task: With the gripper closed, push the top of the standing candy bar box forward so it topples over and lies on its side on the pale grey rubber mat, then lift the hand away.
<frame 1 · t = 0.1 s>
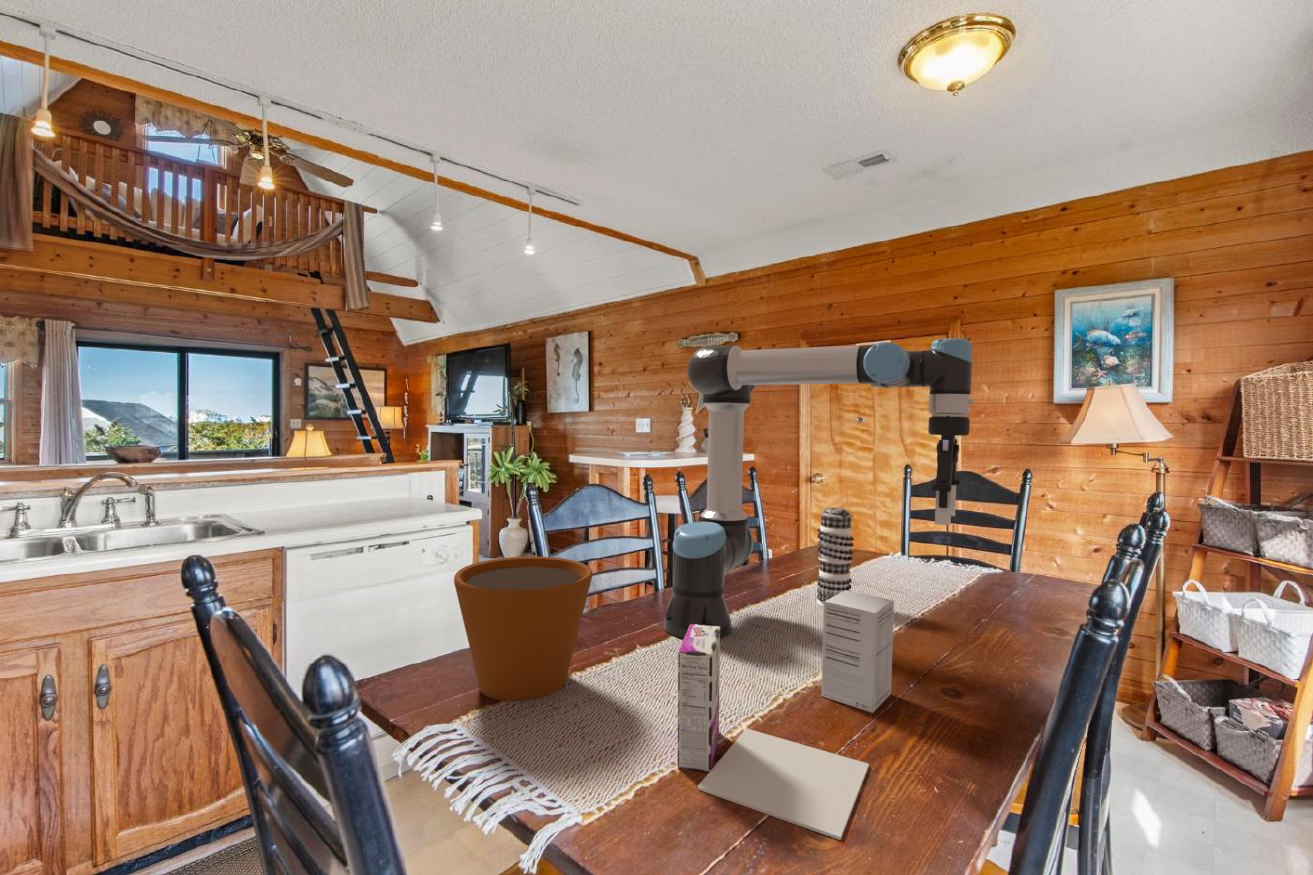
hand: (945, 519, 123), 28 cm above the table, tool pointing down, fingers open, 13 cm apart
flower pot: (523, 684, 107), on the table
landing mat: (786, 777, 80), on the table
supplement box: (856, 696, 105), on the table
candy bar box: (698, 750, 87), on the table
decorative candle: (833, 605, 157), on the table
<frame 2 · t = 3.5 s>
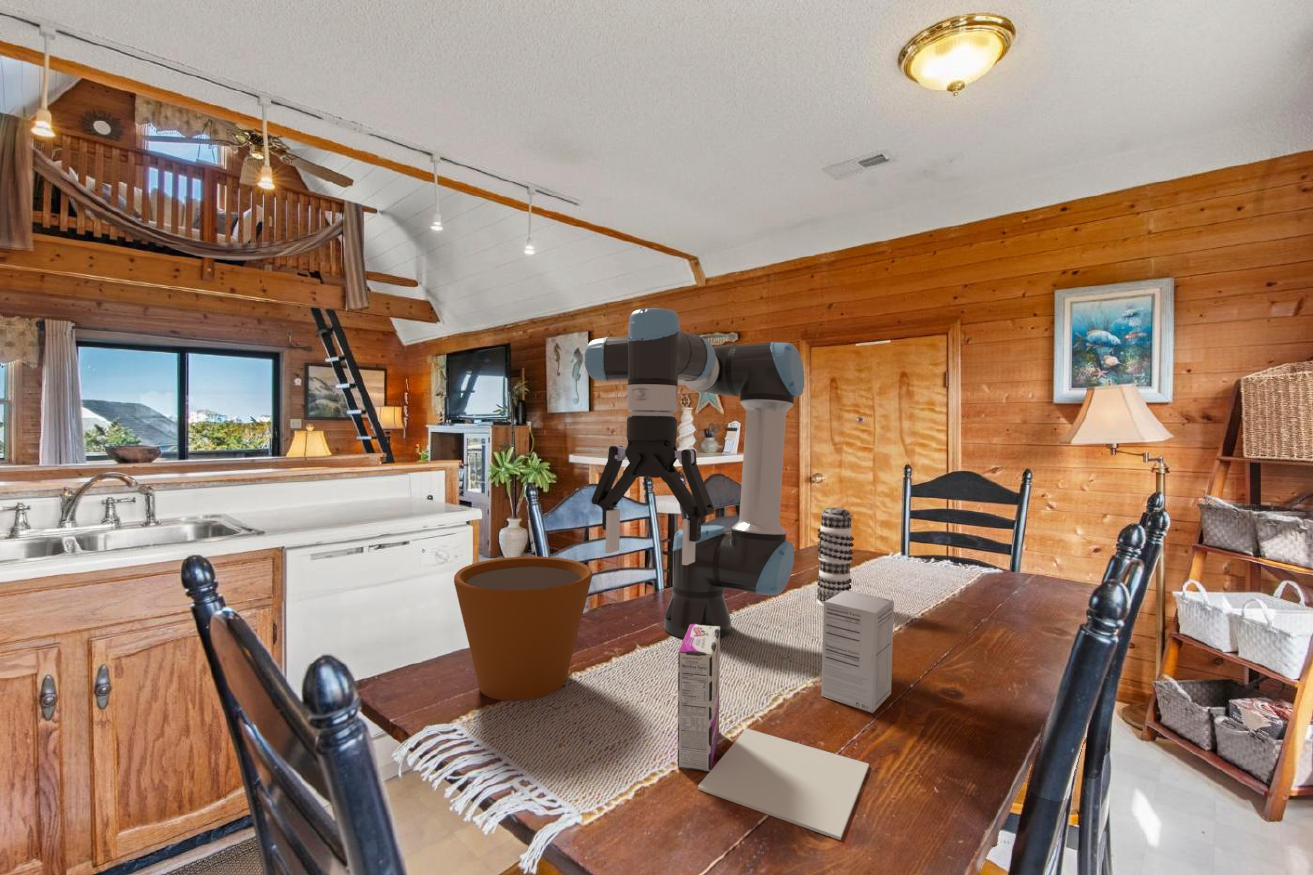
hand: (649, 557, 90), 27 cm above the table, tool pointing down, fingers open, 12 cm apart
nothing on the table moved.
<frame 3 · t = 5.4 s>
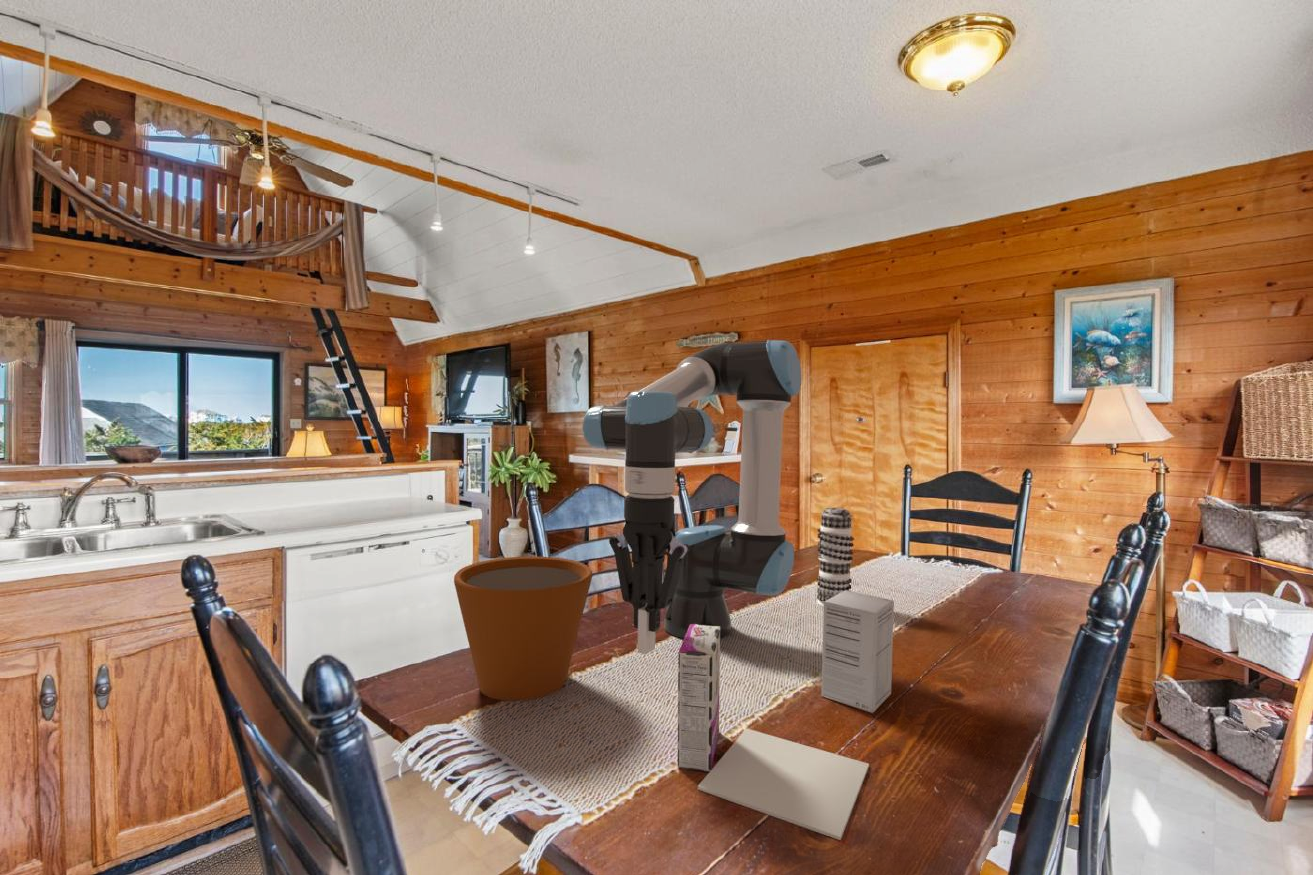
hand: (646, 650, 91), 13 cm above the table, tool pointing down, fingers closed
nothing on the table moved.
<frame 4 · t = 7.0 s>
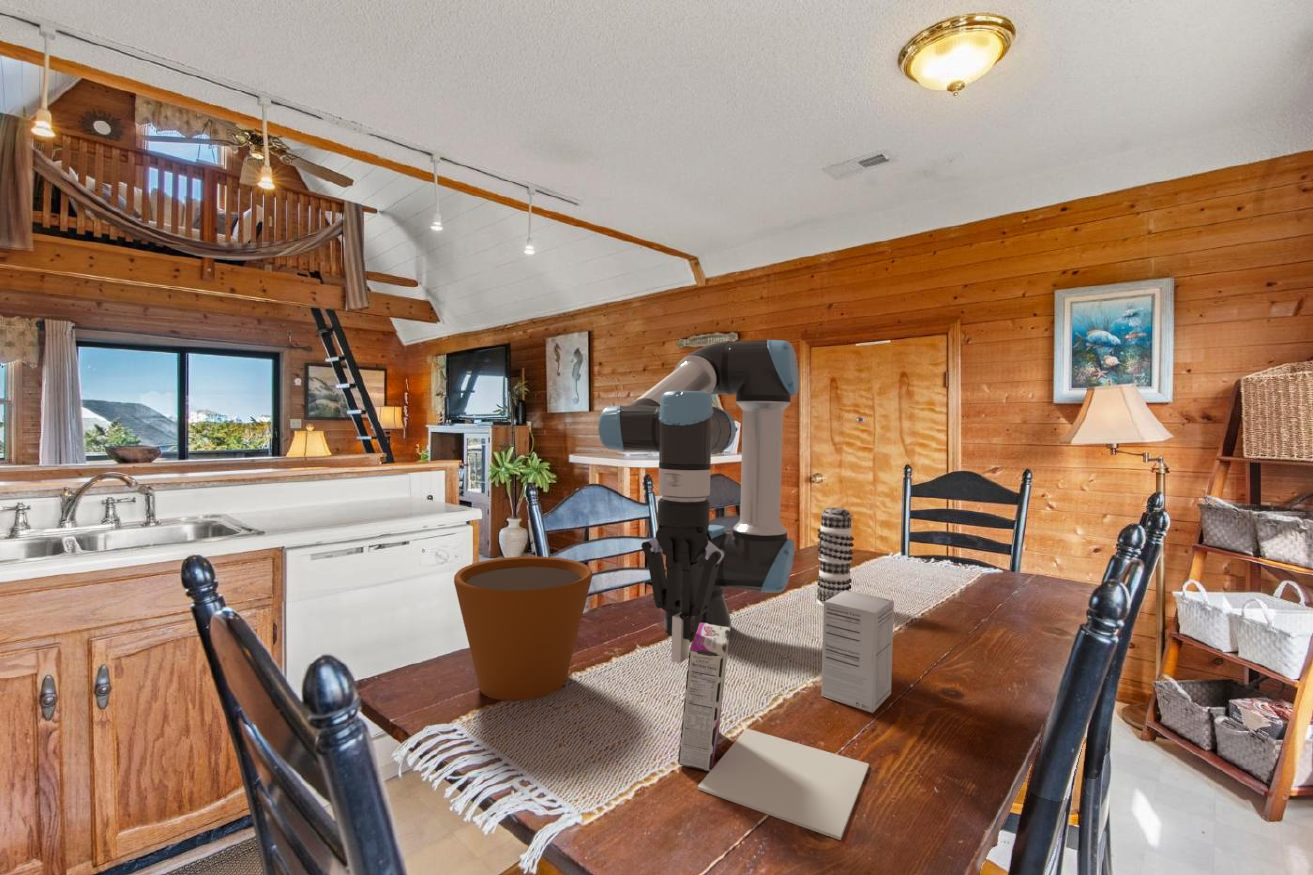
hand: (680, 658, 88), 13 cm above the table, tool pointing down, fingers closed
candy bar box: (698, 749, 87), on the table, touching gripper
everything else where it was.
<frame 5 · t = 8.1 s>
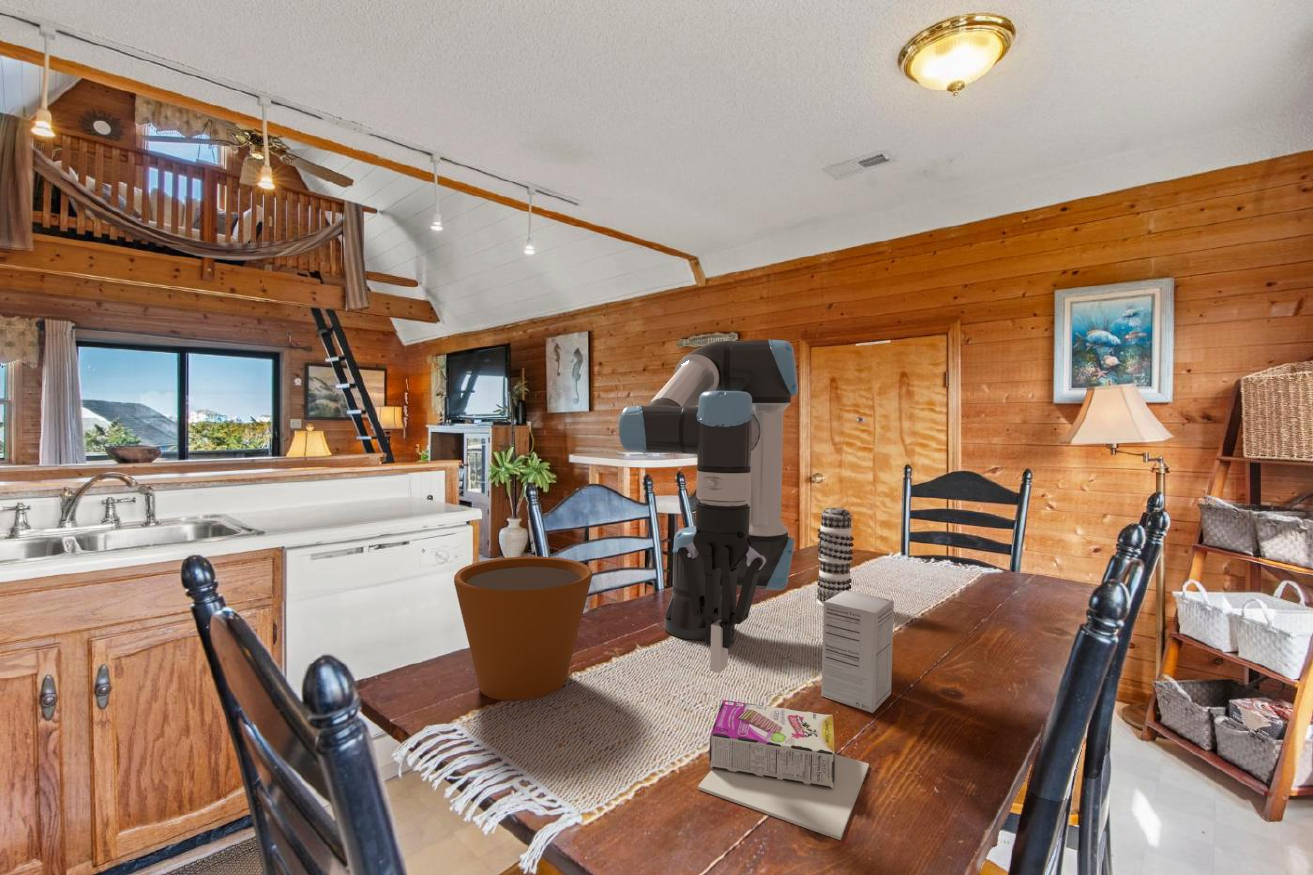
hand: (718, 668, 85), 13 cm above the table, tool pointing down, fingers closed
candy bar box: (714, 730, 86), point 3 cm above the table, touching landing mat
everything else where it was.
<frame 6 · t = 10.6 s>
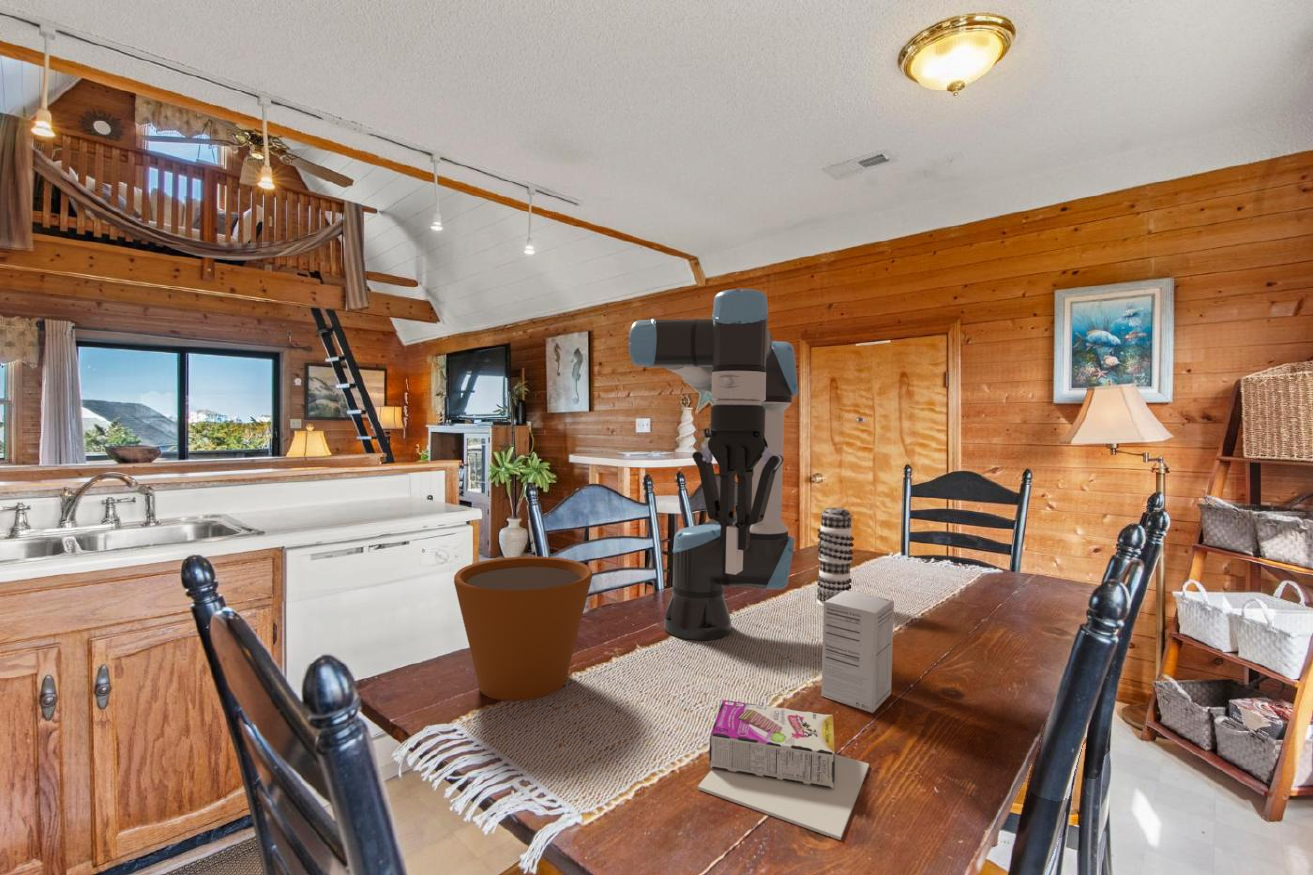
hand: (734, 571, 84), 26 cm above the table, tool pointing down, fingers closed
nothing on the table moved.
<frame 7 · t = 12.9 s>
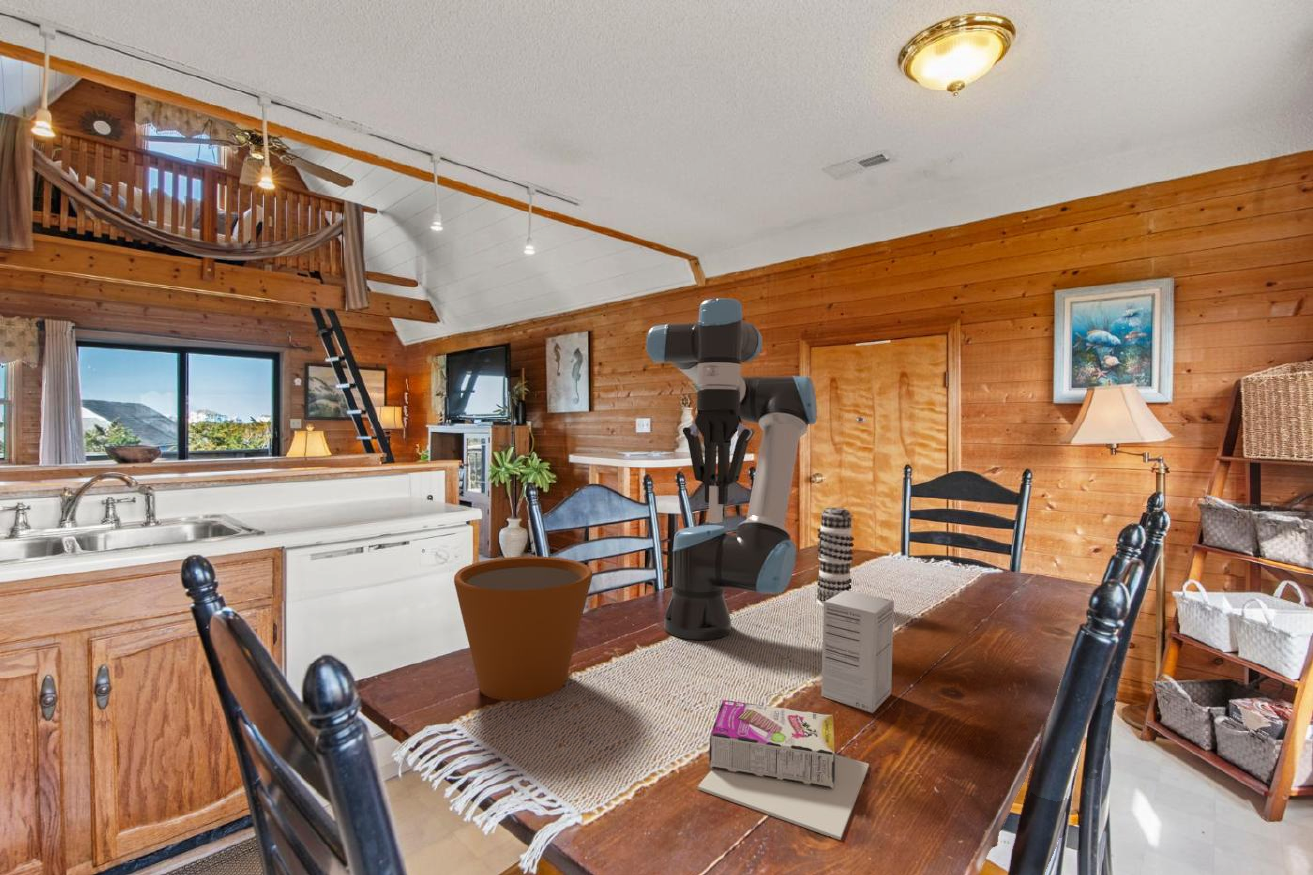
hand: (715, 521, 106), 29 cm above the table, tool pointing down, fingers closed
nothing on the table moved.
at the end: candy bar box tilted 91°; candy bar box touching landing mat; candy bar box inside the target area (4.1 cm from its centre), point 2.9 cm above the table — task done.
